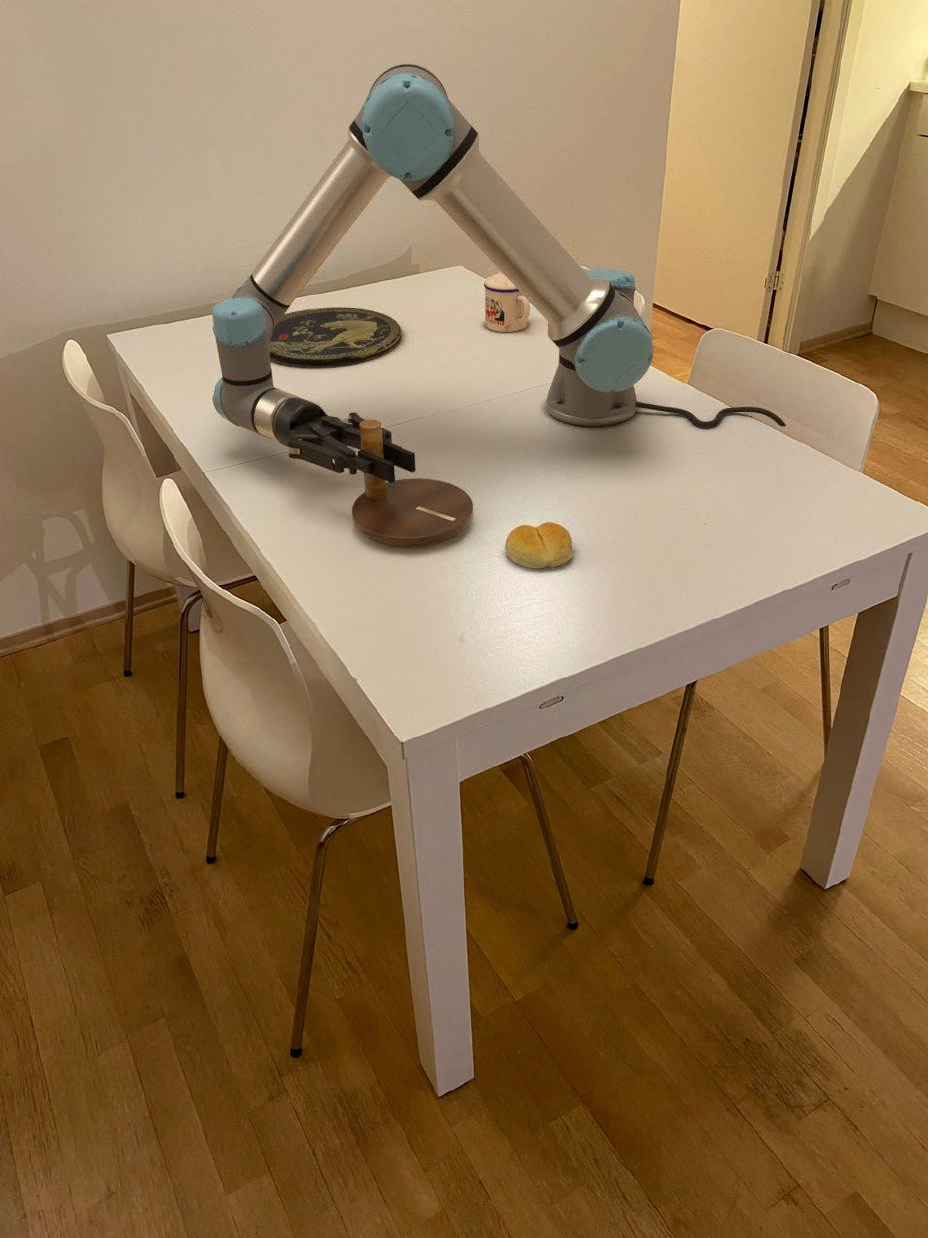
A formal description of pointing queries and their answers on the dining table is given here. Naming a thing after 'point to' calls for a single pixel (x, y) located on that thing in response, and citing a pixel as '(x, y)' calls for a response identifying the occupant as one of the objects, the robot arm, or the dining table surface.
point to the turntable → (407, 503)
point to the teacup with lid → (504, 305)
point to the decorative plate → (332, 337)
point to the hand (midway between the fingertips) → (402, 467)
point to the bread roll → (539, 545)
